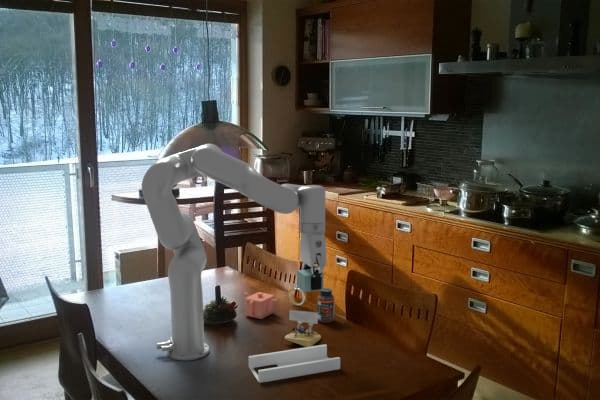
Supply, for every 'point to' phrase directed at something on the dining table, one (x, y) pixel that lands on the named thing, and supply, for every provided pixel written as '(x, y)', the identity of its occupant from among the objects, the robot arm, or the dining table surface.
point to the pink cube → (259, 305)
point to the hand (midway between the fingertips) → (311, 285)
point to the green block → (306, 280)
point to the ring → (301, 292)
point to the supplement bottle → (325, 306)
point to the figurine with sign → (303, 328)
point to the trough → (293, 363)
